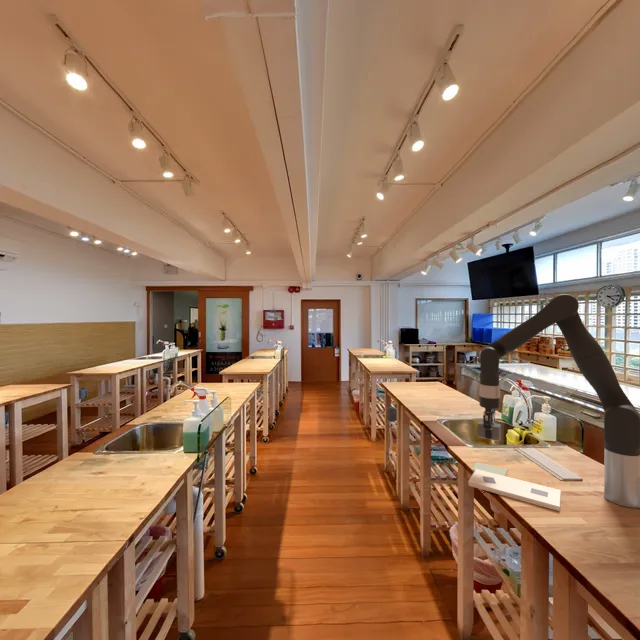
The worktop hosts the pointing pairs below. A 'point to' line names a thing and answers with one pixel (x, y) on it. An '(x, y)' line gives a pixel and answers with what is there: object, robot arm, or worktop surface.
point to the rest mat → (489, 468)
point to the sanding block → (494, 432)
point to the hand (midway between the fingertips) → (489, 436)
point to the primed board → (516, 489)
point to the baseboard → (548, 464)
